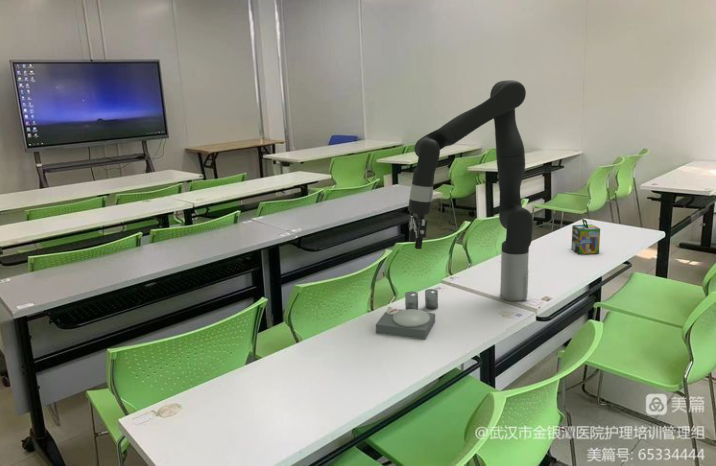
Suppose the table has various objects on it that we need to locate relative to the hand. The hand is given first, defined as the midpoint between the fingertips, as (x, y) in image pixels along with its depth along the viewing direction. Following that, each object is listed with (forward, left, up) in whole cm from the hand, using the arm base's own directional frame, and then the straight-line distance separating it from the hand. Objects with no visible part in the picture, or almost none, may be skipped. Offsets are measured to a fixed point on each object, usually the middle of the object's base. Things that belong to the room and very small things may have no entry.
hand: (414, 245), depth 181 cm
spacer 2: (-5, 0, -22) cm, 23 cm away
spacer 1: (+1, +4, -22) cm, 23 cm away
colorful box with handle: (-56, -79, -23) cm, 100 cm away
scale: (-1, +18, -22) cm, 28 cm away
